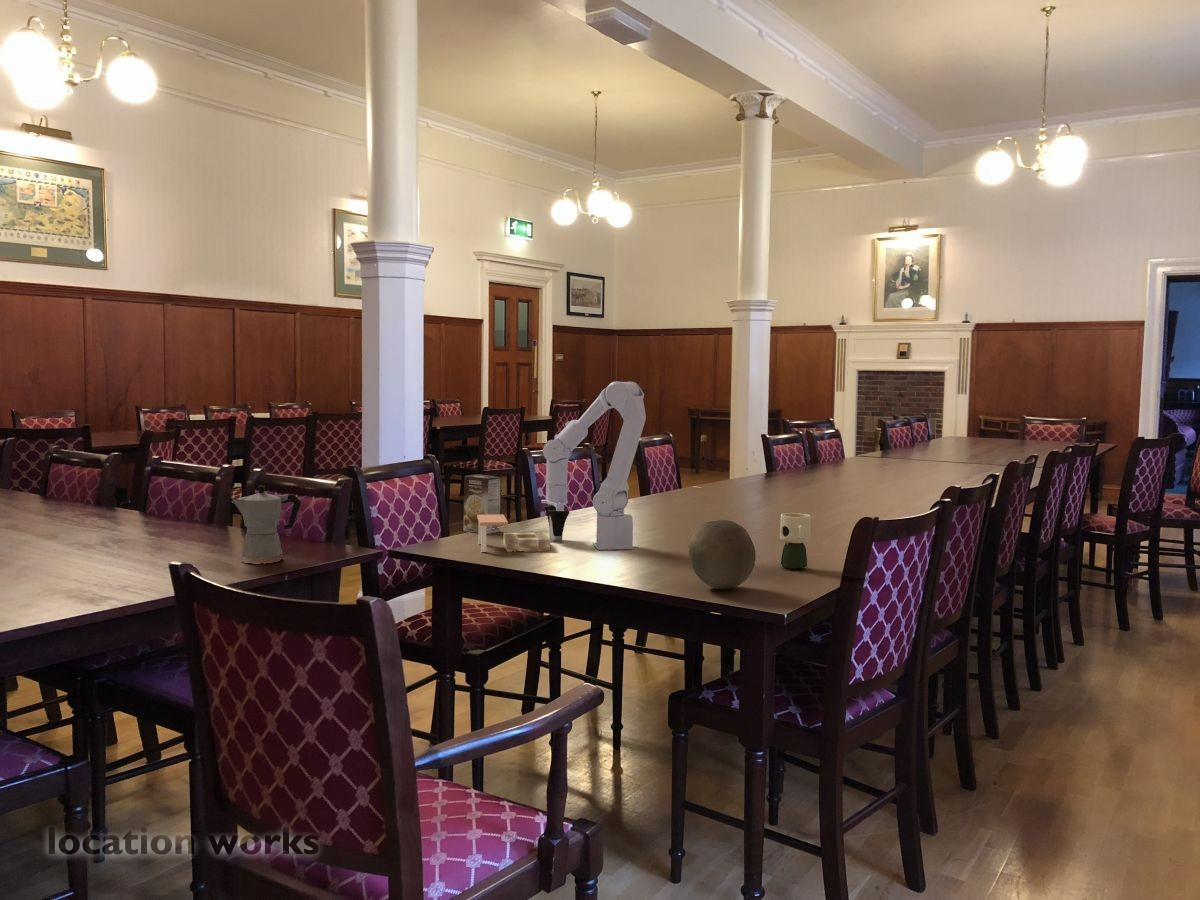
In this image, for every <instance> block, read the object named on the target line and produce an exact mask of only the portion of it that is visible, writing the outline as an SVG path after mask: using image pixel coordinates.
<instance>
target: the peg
mask: <svg viewBox="0 0 1200 900" xmlns="http://www.w3.org/2000/svg"><path fill="white" fill-rule="evenodd" d="M548 529H549V532H548V533H549V534H548V537H549V539H550V543H552V542H560V543H562V542H563V539H564V538H563V534H564V533H563V534H562V536H554V534H553V528H552V521H551V517H550V525H549V524H548Z"/></svg>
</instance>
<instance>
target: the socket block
mask: <svg viewBox="0 0 1200 900" xmlns="http://www.w3.org/2000/svg"><path fill="white" fill-rule="evenodd" d="M503 546H504V548H505V550H506V552H508V553H511V552H512V551H514V552H512V553H516V551H524V552H550V551H551V542H550V539H549V535H547V534H546V532H544V531H543V532H540V531H539V532H538V531H537V532H533V531H531V532H503Z"/></svg>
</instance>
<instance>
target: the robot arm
mask: <svg viewBox="0 0 1200 900" xmlns="http://www.w3.org/2000/svg"><path fill="white" fill-rule="evenodd" d="M644 396H645V393H644V392H643V390H642V389H641V387H640V386H639V384H638V383H636V382H635V381H618V380H617V381H616V380H615V381H612V382H610V383H609V384H608V385H607V386H606V387H605V388H604V389H603V390H601V392H600V393H599V395H598V396H597V398H596V399H595V400H594V401H593V402H592V404H590V406H589V407H588V408H587V409H586V410H585V411H584V413H583V414H582V415H581V416H580V418H579V419H578V420H577V419H572V420H570V421H566V422H565V424H564V426H565V427H564V428H563V429H561V431H560V432H559V433H558V434H555V435H554V436H553V437H554V439H550V440H547V441H546V443H545V444H544V446H543V447H542V455H543V458H544V459H545V460H546V471H545V472H546V475H545V476H546V478H545V479H546V480H545V485H546V486H545V487H546V488H545V499H541V504H547V505H543V508H544V511H545V513H546V516H547V522H548V526H549V525H550V517H551V521H552V528H553V534H554V536H562V534H564V529H565V525H566V521H567V519H568V517H569V515H570V510H565V506H567V504H568V469H569V467H568V464H569V459H570V458H571V456H572V454H573V450H575V448H576V447H577V446H578V445H580V443H581V442H582V441H583V440H584V439H585V438H586V437H587V436H588V433H589V431H588V428H590V427H591V426H592V424H594V423H595V422H596V421H597V420H598V419H599V418H601V416H603V415H604V414H605V413H606V412H607V411H608V410H611V409H615V410H616V411H617V412H618V414H620V416H621V418H622V420H623V422H622V423H623V424H622V426H621V429H620V432H619V437H618V439H617V443H616V446H615V448H614V452H613V456H612V458H611V463H610V467H609V469H608V472H607V476H606V478H605V479H604V480H603V481H602V482H601V484H600V487H599V490H598V491H597V492H596V493H595V494H594V496H593V498H592V506H593V508H594V510H595V511H596V537H595V539H596V542H592V545H593V546H594V547H595V548H596V549H597V550H599V551H600V550H603V551H605V550H607V551H608V550H609V551H610V550H633V549H634V546H633V544H634V543H633V540H634V539H633V538H634V537H633V536H634V520H633V516H632V514H630V513H629V514H628V513H627V514H626V513H625V509H626V508H627V506H628V503H629V489H630V486H629V484H628V478H629V475H630V472H631V468H632V465H633V462H634V459H635V457H636V456H635V455H636V452H637V450H638V446H639V443H640V439H641V437H642V433H643V430H644V426H645V423H646V421H647V420H646V418H647V416H646V415H647V414H646V409H645V403H644V398H645V397H644Z"/></svg>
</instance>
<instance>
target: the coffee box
mask: <svg viewBox="0 0 1200 900" xmlns="http://www.w3.org/2000/svg"><path fill="white" fill-rule="evenodd" d="M501 478H502V476H496V475H487V474H478V473H477V474H470V475H464V477H463V481H464V482H463V527H462V528H463V531H464V532H470V533H475V532H476V534H479V521H478V519H477V515H501V485H502V480H501ZM497 527H500V528H501V525H492V526H486V535H489V534H496V533H498V532H499V533H500V530H501V529H500V528H497ZM492 528H495V529H492ZM487 529H490V530H487Z"/></svg>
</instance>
